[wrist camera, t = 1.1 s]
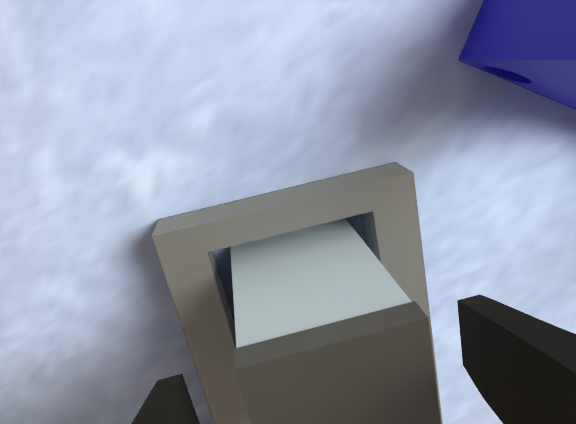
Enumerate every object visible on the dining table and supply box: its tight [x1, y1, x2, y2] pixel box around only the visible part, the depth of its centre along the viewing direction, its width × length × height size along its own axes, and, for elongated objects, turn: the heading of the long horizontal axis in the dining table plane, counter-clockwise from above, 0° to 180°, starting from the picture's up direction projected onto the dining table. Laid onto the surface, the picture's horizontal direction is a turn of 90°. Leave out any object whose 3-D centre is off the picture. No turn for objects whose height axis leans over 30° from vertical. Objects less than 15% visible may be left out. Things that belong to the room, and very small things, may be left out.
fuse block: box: [152, 162, 442, 424], centre depth 14 cm, size 12×8×6 cm, turn 11°
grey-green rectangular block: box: [230, 218, 441, 424], centre depth 13 cm, size 4×4×7 cm
